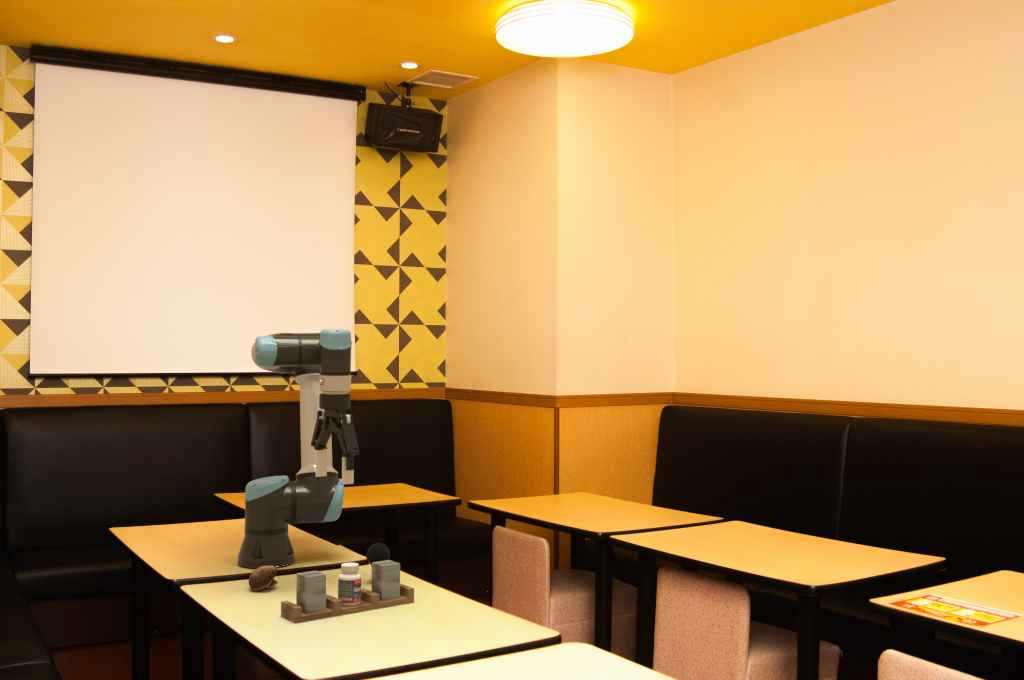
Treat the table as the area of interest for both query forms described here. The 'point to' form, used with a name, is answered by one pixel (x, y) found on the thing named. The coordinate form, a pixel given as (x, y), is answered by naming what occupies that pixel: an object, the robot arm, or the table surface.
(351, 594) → the pill bottle
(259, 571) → the mushroom
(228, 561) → the table surface
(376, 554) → the black round piece
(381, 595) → the rail
